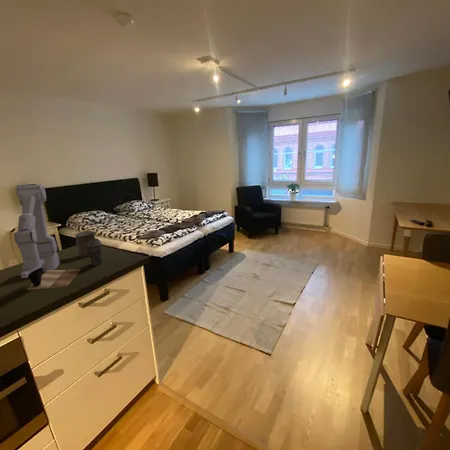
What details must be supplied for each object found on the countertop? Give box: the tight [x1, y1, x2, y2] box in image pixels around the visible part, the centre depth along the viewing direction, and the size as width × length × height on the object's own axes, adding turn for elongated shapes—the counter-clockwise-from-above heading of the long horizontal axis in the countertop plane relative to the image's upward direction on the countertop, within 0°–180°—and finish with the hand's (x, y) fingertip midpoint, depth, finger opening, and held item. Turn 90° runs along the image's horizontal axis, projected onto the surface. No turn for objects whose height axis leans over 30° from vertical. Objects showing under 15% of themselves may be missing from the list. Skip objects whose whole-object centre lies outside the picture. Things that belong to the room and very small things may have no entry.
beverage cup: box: [87, 229, 103, 267], centre depth 131 cm, size 7×7×20 cm
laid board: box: [49, 268, 82, 289], centre depth 118 cm, size 18×7×1 cm, turn 10°
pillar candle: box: [74, 230, 94, 259], centre depth 146 cm, size 10×10×15 cm
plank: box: [26, 269, 67, 291], centre depth 117 cm, size 18×8×1 cm, turn 10°
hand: (37, 285), depth 111 cm, fingers closed, pressing on plank
